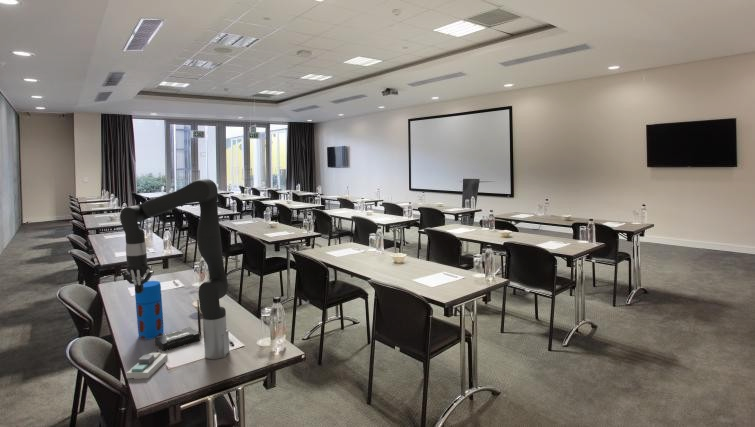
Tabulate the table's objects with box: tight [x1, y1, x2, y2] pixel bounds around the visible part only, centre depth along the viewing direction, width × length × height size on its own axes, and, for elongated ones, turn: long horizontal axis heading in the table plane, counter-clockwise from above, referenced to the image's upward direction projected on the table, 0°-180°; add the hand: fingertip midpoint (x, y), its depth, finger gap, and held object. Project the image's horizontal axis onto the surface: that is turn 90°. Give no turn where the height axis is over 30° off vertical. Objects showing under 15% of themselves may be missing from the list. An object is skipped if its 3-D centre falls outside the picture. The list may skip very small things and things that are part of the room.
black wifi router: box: [154, 299, 202, 352], centre depth 198 cm, size 20×14×17 cm
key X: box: [138, 354, 154, 366], centre depth 172 cm, size 4×4×3 cm
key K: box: [147, 352, 161, 360], centre depth 178 cm, size 4×4×3 cm
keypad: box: [126, 353, 169, 380], centre depth 173 cm, size 8×16×2 cm, turn 1°
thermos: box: [134, 280, 164, 340], centre depth 205 cm, size 11×11×25 cm
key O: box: [131, 363, 148, 372], centre depth 168 cm, size 4×4×3 cm
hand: (139, 293), depth 183 cm, fingers closed
